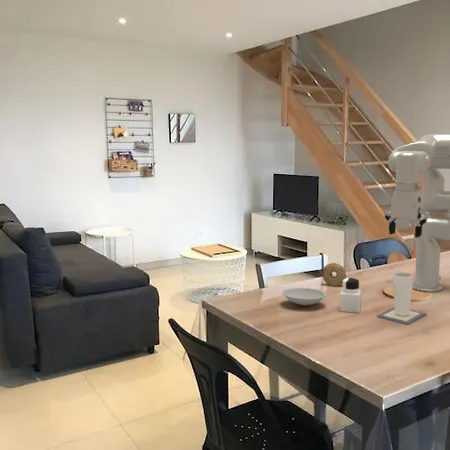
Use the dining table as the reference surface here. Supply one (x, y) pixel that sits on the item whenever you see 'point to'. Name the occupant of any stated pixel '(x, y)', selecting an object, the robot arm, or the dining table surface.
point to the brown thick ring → (331, 279)
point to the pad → (401, 319)
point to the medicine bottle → (350, 296)
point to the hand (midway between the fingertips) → (404, 235)
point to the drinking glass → (402, 293)
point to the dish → (304, 295)
